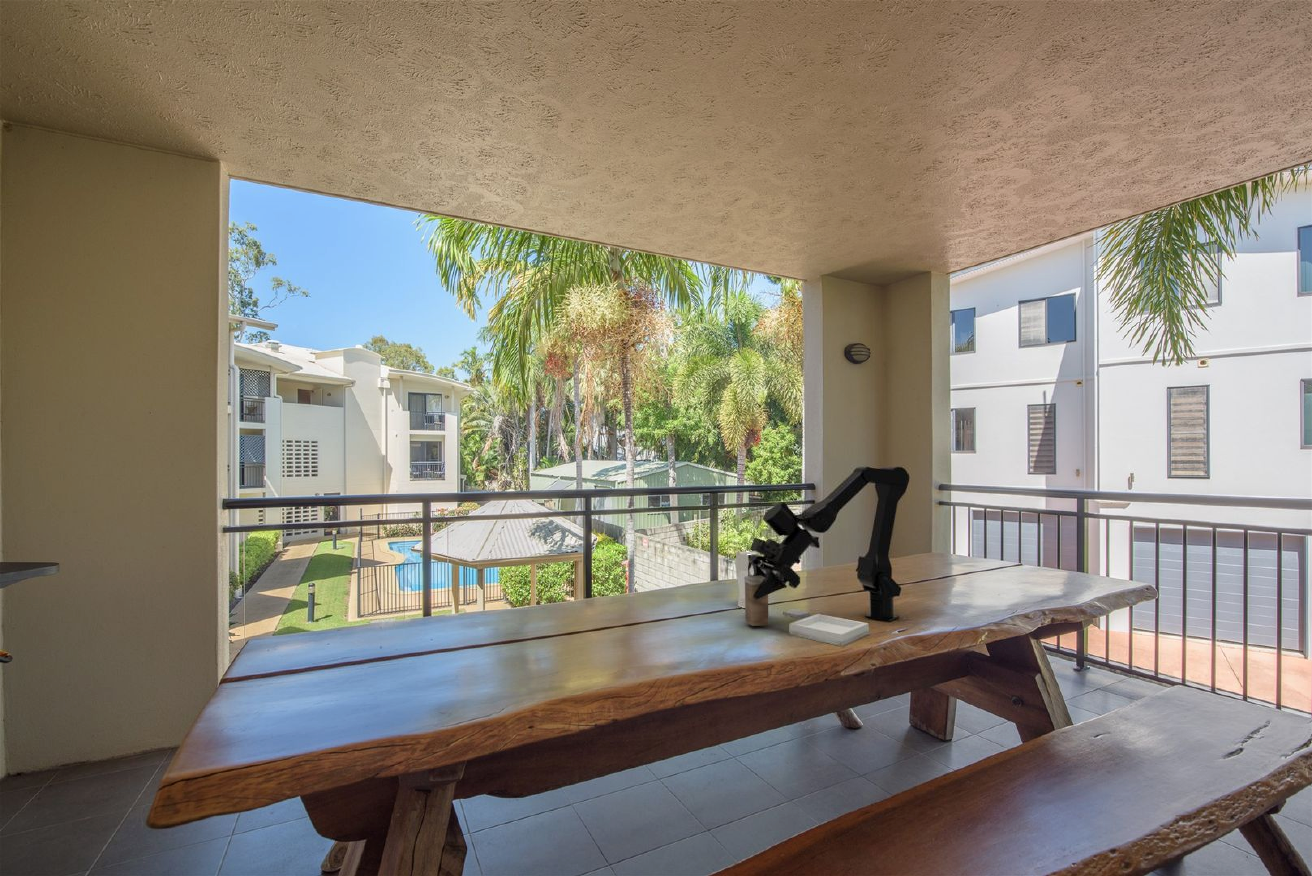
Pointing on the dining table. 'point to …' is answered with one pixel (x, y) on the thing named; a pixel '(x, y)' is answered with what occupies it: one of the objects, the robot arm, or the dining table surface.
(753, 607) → the brown rectangular block
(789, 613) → the slate tile
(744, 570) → the beer glass
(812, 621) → the tray
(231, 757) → the dining table surface
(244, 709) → the dining table surface
